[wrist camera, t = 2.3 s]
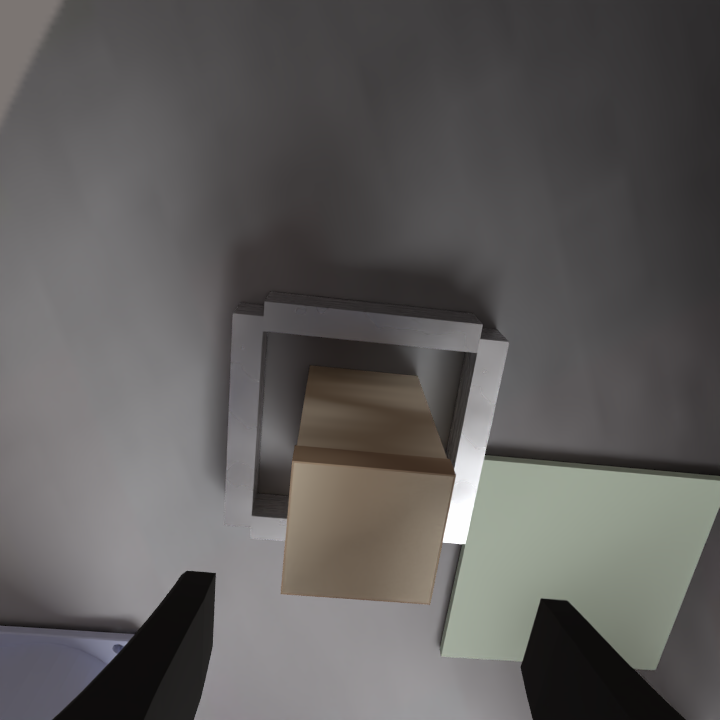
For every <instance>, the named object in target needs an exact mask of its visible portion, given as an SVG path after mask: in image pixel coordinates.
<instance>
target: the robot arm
mask: <svg viewBox="0 0 720 720" xmlns="http://www.w3.org/2000/svg"><path fill="white" fill-rule="evenodd" d="M215 578H216V573H208V572H195V571H186V572H185V573H183V574H182V575H181V576H180V578H179V579H178V581H177V582H176V584H175V585H174V586H173V588H172V589H171V590H170V592H169V593H168V594H167V596H166V597H165V598H164V600H163V601H162V602H161V603H160V605H159V606H158V607H157V608H156V610H155V611H154V612H153V613H152V615H151V616H150V617H149V618H148V620H147V621H146V622H145V623H144V624H143V625H142V627H141V628H140V629H139V630H138V631H137V632H136V634H124V633H108V632H93V631H77V630H61V629H46V628H30V627H14V626H0V720H194V717H195V714H196V711H197V708H198V705H199V702H200V699H201V695H202V691H203V687H204V682H205V678H206V674H207V669H208V665H209V660H210V656H211V651H212V647H213V625H214V602H215ZM118 644H120V645H122V646H120V645H118ZM521 671H522V675H523V680H524V685H525V689H526V694H527V698H528V702H529V706H530V710H531V714H532V718H533V720H685V719H684V718H683V717H682V716H681V715H680V714H679V713H678V712H677V711H676V710H675V709H674V708H673V707H671V706H670V705H669V704H668V703H667V702H666V701H665V700H664V699H663V698H662V697H661V696H660V695H659V694H658V693H657V692H656V691H655V690H654V689H653V688H652V687H651V686H650V685H649V684H648V683H647V682H646V681H645V680H644V679H643V678H642V677H641V676H640V675H639V674H638V673H637V672H636V671H635V670H634V669H633V668H632V667H631V666H630V665H629V664H628V663H627V662H626V661H625V660H624V659H623V658H622V657H621V656H620V655H619V654H618V653H617V652H616V650H615V649H614V648H613V647H612V646H611V645H610V644H609V643H608V642H607V641H606V640H605V639H604V638H603V637H602V636H601V635H600V634H599V633H598V632H597V630H596V629H595V628H594V627H593V626H592V625H591V624H590V623H589V622H588V621H587V620H586V619H585V618H584V617H583V616H582V615H581V614H580V613H579V612H578V611H577V610H576V609H575V608H574V607H573V606H572V605H571V604H570V603H569V602H568V601H567V600H556V599H543V598H541V600H540V603H539V606H538V610H537V613H536V617H535V620H534V624H533V627H532V630H531V634H530V637H529V641H528V644H527V648H526V651H525V654H524V658H523V661H522V665H521Z"/></svg>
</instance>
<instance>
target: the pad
mask: <svg viewBox="0 0 720 720" xmlns="http://www.w3.org/2000/svg"><path fill="white" fill-rule="evenodd" d="M719 507H720V476H714V475H703V474H692V473H681V472H669V471H658V470H647V469H636V468H625V467H614V466H602V465H591V464H580V463H569V462H558V461H547V460H535V459H524V458H513V457H502V456H491V455H485V456H484V461H483V465H482V470H481V474H480V479H479V484H478V488H477V493H476V497H475V502H474V507H473V511H472V516H471V520H470V525H469V530H468V534H467V539H466V543H465V544H462V547H461V552H460V557H459V561H458V566H457V571H456V575H455V580H454V584H453V589H452V594H451V598H450V603H449V608H448V612H447V617H446V622H445V626H444V631H443V636H442V640H441V645H440V654H441V657H455V658H471V659H487V660H502V661H518V662H522V661H523V658H524V654H525V651H526V648H527V644H528V641H529V637H530V634H531V630H532V627H533V624H534V620H535V617H536V613H537V610H538V606H539V603H540V600H541V598H543V599H556V600H567V601H568V602H569V603H570V604H571V605H572V606H573V607H574V608H575V609H576V610H577V611H578V612H579V613H580V614H581V615H582V616H583V617H584V618H585V619H586V620H587V621H588V622H589V623H590V624H591V625H592V626H593V627H594V628H595V629H596V630H597V632H598V633H599V634H600V635H601V636H602V637H603V638H604V639H605V640H606V641H607V642H608V643H609V644H610V645H611V646H612V647H613V648H614V649H615V650H616V652H617V653H618V654H619V655H620V656H621V657H622V658H623V659H624V660H625V661H626V662H627V663H628V664H629V665H630V666H631V667H632V668H633V669H644V670H656V668H657V665H658V663H659V660H660V658H661V655H662V652H663V650H664V647H665V645H666V642H667V640H668V637H669V635H670V632H671V629H672V627H673V624H674V622H675V619H676V617H677V614H678V612H679V609H680V607H681V604H682V601H683V599H684V596H685V594H686V591H687V589H688V586H689V584H690V581H691V578H692V576H693V573H694V571H695V568H696V566H697V563H698V561H699V558H700V555H701V553H702V550H703V548H704V545H705V543H706V540H707V538H708V535H709V532H710V530H711V527H712V525H713V522H714V520H715V517H716V515H717V512H718V509H719Z"/></svg>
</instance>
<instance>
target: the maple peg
mask: <svg viewBox="0 0 720 720" xmlns="http://www.w3.org/2000/svg"><path fill="white" fill-rule="evenodd" d="M455 478H456V474H455V471H454V468H453V466H452V463H451V460H450V459H447V457H446V454H445V451H444V448H443V445H442V443H441V440H440V437H439V434H438V432H437V429H436V426H435V423H434V420H433V418H432V415H431V412H430V409H429V407H428V404H427V401H426V398H425V395H424V393H423V390H422V387H421V384H420V382H419V379H418V376H413V375H403V374H393V373H383V372H373V371H363V370H353V369H342V368H332V367H322V366H312V365H310V368H309V374H308V380H307V386H306V393H305V399H304V405H303V411H302V417H301V423H300V429H299V436H298V442H297V445H295V447H294V453H293V459H292V469H291V480H290V492H289V503H288V515H287V527H286V538H285V550H284V561H283V573H282V584H281V594H287V595H301V596H315V597H330V598H344V599H358V600H372V601H386V602H400V603H415V604H429V605H430V603H431V598H432V593H433V588H434V583H435V578H436V573H437V568H438V563H439V558H440V553H441V548H442V543H443V538H444V533H445V528H446V523H447V518H448V513H449V508H450V503H451V498H452V493H453V488H454V483H455Z"/></svg>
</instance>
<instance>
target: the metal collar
mask: <svg viewBox="0 0 720 720" xmlns="http://www.w3.org/2000/svg"><path fill="white" fill-rule="evenodd" d="M482 327H483V324H482V323H481V322H480V321H479V320H478V319H477V317H476V316H475V315H474V314H473V313H466V312H457V311H448V310H438V309H429V308H420V307H410V306H401V305H392V304H383V303H373V302H364V301H355V300H345V299H336V298H327V297H317V296H308V295H299V294H289V293H280V292H271V291H270V293H269V295H268V296H267V298H266V300H265V303H264V305H261V304H252V303H242V302H241V303H240V304H239V305H238V307H237V308H236V309H235V311H234V312H233V318H232V342H231V366H230V391H229V415H228V440H227V464H226V489H225V513H224V525H227V526H240V527H251V535H250V538H251V539H264V540H277V541H285V538H286V527H287V515H288V503H289V496H284V495H272V494H260V493H258V478H259V462H260V447H261V431H262V415H263V399H264V384H265V368H266V352H267V336H268V332H276V333H286V334H296V335H306V336H315V337H325V338H335V339H345V340H355V341H364V342H374V343H384V344H394V345H403V346H413V347H423V348H433V349H443V350H452V351H462V352H465V356H464V362H463V367H462V372H461V377H460V383H459V388H458V393H457V398H456V404H455V409H454V414H453V419H452V425H451V430H450V435H449V440H448V446H447V451H446V457H447V459H450V460H451V463H452V466H453V468H454V471H455V474H456V478H455V483H454V488H453V493H452V498H451V503H450V508H449V513H448V518H447V523H446V528H445V533H444V538H443V542H445V543H458V544H465V543H466V539H467V534H468V530H469V525H470V520H471V516H472V511H473V507H474V502H475V497H476V493H477V488H478V484H479V479H480V474H481V470H482V465H483V461H484V456H485V451H486V447H487V442H488V438H489V433H490V428H491V424H492V419H493V415H494V410H495V405H496V401H497V396H498V392H499V387H500V382H501V378H502V373H503V368H504V364H505V359H506V355H507V350H508V345H509V341H508V340H507V339H506V338H505V337H504V336H503V335H502V334H501V333H500V332H499V331H498V330H497V329H488V328H482Z"/></svg>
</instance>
